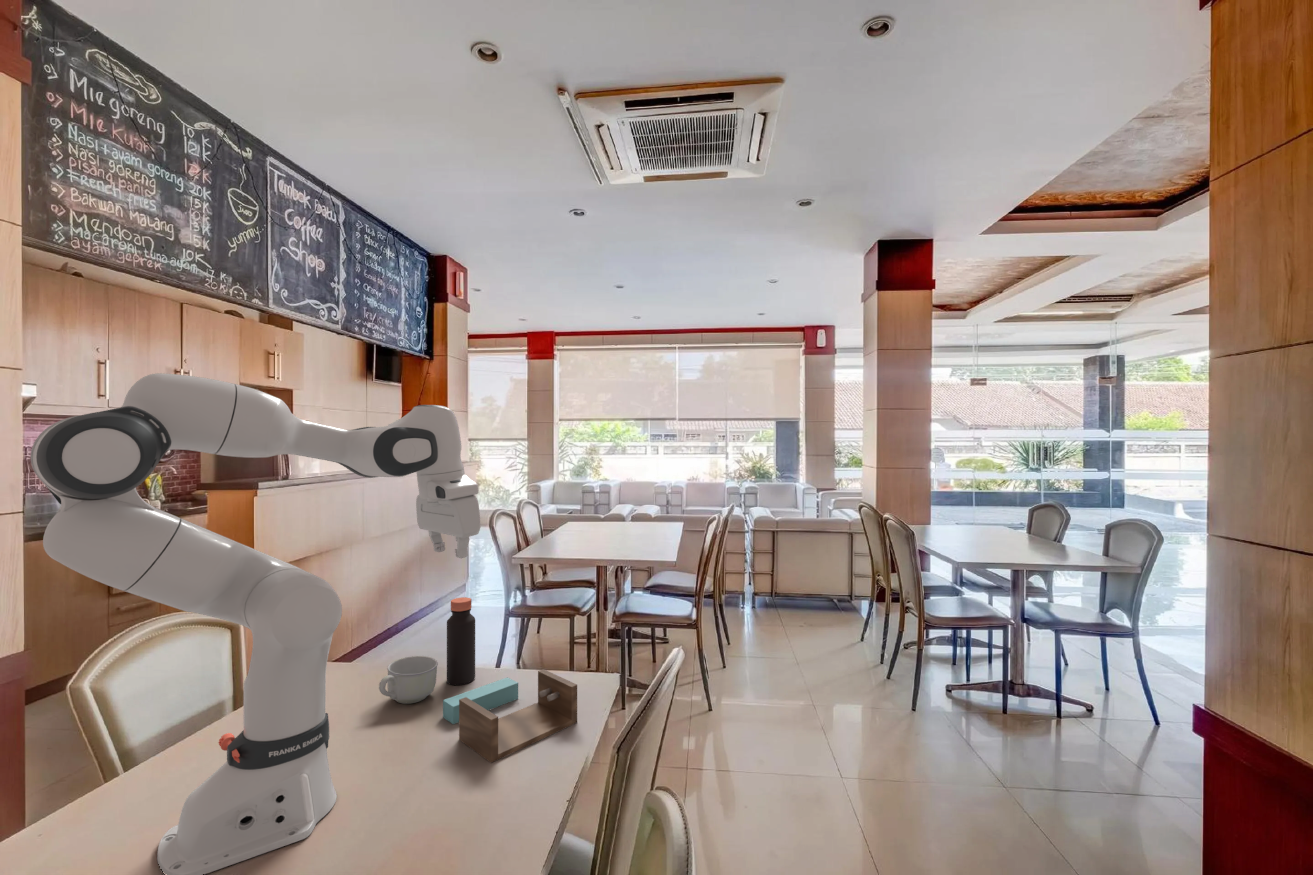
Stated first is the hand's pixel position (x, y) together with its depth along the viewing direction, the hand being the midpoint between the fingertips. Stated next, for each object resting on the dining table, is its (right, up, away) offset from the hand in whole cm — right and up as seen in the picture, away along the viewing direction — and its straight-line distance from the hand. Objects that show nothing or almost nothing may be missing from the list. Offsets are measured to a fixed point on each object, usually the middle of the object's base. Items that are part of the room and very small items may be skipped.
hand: (450, 554), depth 112 cm
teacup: (-16, -37, +17) cm, 44 cm away
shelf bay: (+13, -37, +3) cm, 39 cm away
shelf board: (+2, -38, +13) cm, 40 cm away
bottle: (-8, -38, +28) cm, 47 cm away
